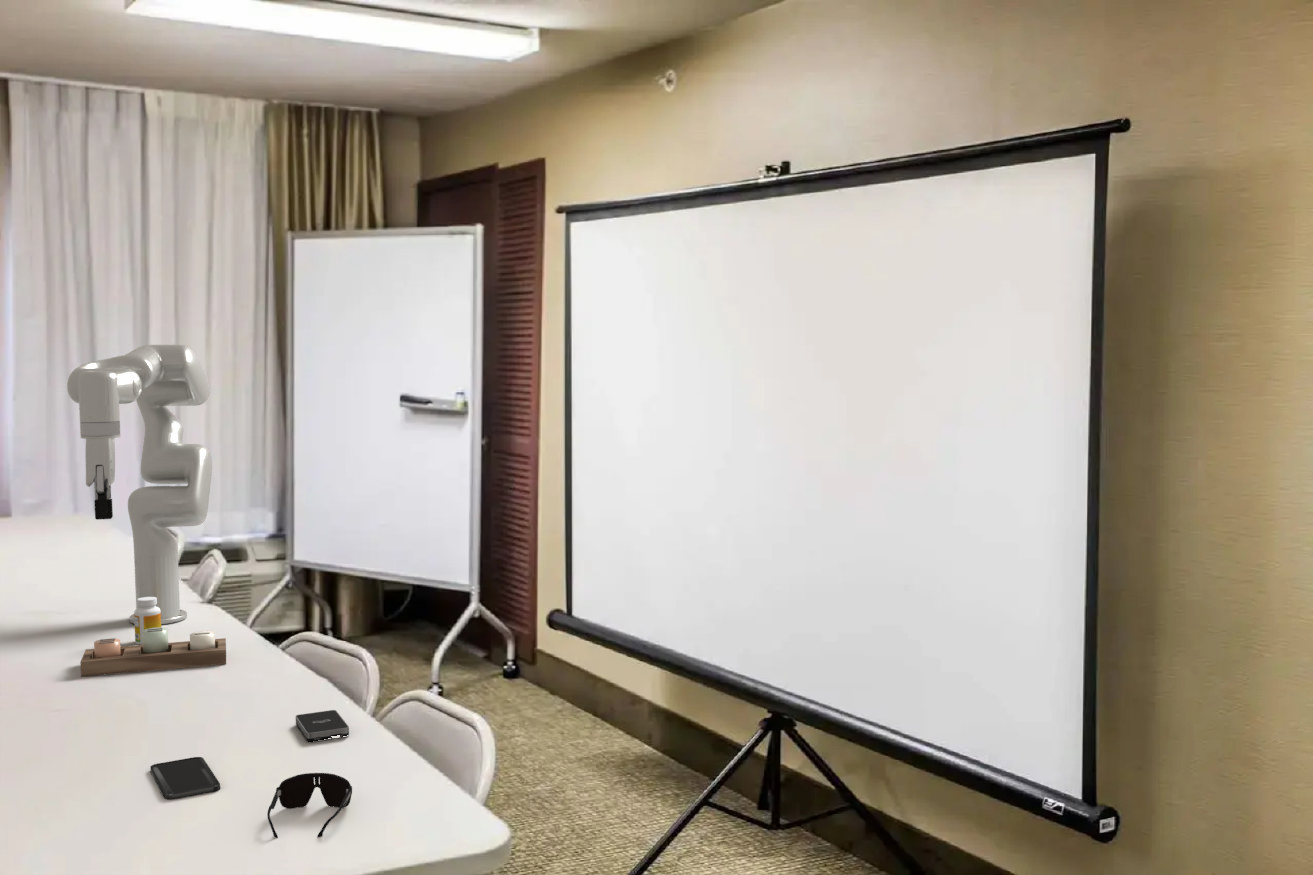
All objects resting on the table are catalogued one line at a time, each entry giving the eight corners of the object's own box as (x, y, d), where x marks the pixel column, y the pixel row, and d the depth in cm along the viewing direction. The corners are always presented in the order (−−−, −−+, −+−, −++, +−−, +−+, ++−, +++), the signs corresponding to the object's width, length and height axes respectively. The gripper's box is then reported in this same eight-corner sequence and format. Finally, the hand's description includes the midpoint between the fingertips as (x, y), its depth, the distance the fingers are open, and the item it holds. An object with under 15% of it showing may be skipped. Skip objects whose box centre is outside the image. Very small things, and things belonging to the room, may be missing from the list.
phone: (165, 796, 177) (149, 764, 190) (165, 803, 178) (149, 771, 190) (222, 785, 181) (202, 755, 194) (222, 792, 182) (202, 762, 194)
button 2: (143, 647, 252) (142, 628, 252) (168, 645, 254) (168, 626, 254) (142, 653, 248) (141, 633, 248) (167, 651, 249) (167, 631, 249)
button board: (86, 663, 251) (85, 649, 251) (226, 652, 260) (225, 638, 260) (81, 676, 242) (80, 661, 242) (226, 664, 251) (225, 649, 251)
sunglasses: (355, 804, 177) (353, 772, 176) (337, 848, 165) (335, 814, 164) (281, 805, 176) (279, 773, 175) (258, 850, 165) (255, 816, 164)
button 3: (96, 659, 250) (95, 639, 249) (121, 656, 251) (120, 637, 251) (93, 665, 245) (92, 644, 245) (119, 662, 247) (119, 642, 246)
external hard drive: (307, 745, 202) (307, 733, 202) (295, 726, 212) (294, 715, 212) (349, 739, 205) (349, 727, 205) (335, 720, 215) (335, 709, 215)
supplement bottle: (166, 639, 272) (164, 596, 271) (154, 645, 266) (152, 601, 265) (143, 638, 272) (141, 595, 271) (130, 645, 267) (128, 600, 266)
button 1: (190, 651, 256) (190, 631, 255) (215, 649, 257) (214, 629, 257) (190, 656, 251) (189, 637, 251) (215, 654, 253) (214, 635, 252)
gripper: (84, 428, 259) (87, 514, 261) (76, 433, 245) (80, 524, 247) (122, 427, 262) (126, 512, 263) (117, 432, 248) (120, 522, 249)
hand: (104, 518), depth 255 cm, fingers closed
